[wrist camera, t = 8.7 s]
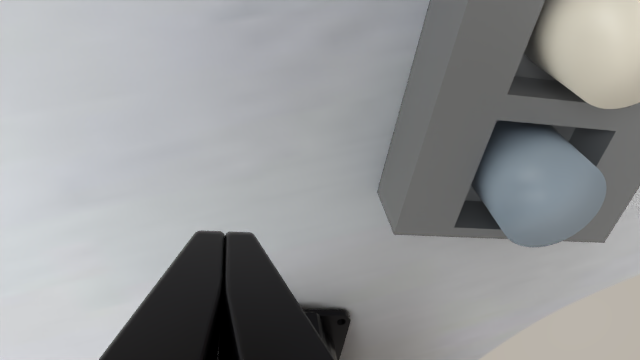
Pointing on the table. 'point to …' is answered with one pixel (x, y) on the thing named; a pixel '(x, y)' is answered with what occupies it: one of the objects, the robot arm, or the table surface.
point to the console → (490, 122)
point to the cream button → (590, 49)
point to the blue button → (537, 184)
